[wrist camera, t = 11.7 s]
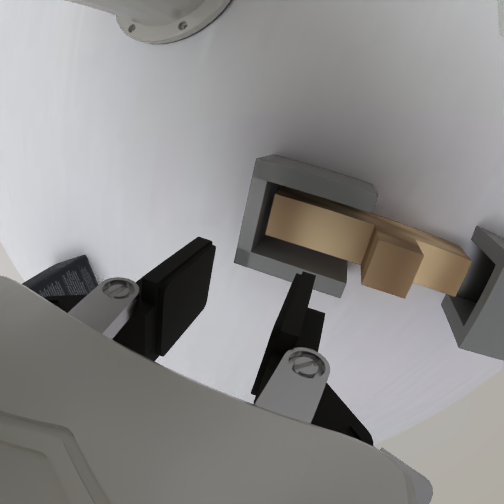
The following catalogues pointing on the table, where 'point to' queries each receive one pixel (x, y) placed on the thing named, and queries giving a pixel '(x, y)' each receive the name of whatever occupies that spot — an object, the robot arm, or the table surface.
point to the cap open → (286, 253)
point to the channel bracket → (481, 305)
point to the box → (64, 279)
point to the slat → (369, 243)
